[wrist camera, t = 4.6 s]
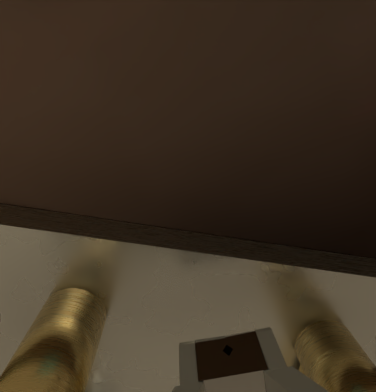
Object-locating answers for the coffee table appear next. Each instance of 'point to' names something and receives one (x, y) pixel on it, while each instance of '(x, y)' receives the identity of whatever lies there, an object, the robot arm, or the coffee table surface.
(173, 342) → the plate
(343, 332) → the knob
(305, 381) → the robot arm
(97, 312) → the knob
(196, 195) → the coffee table surface
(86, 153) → the coffee table surface
